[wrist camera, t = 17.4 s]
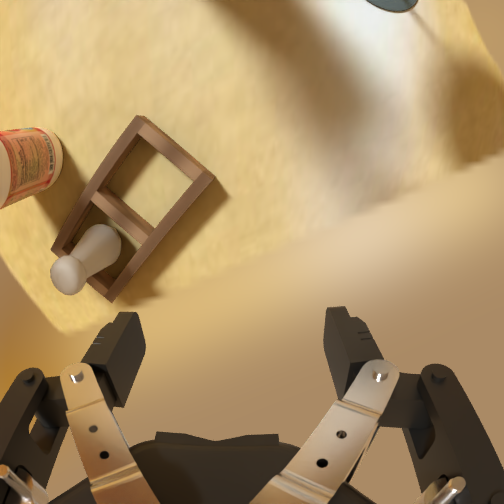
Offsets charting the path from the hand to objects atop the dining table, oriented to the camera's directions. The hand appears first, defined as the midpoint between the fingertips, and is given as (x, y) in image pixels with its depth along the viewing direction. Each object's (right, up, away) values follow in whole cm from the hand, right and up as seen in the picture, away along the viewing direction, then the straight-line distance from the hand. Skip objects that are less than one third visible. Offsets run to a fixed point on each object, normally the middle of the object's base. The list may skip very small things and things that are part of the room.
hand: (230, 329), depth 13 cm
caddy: (-16, +9, +27) cm, 32 cm away
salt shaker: (-19, +5, +28) cm, 35 cm away
